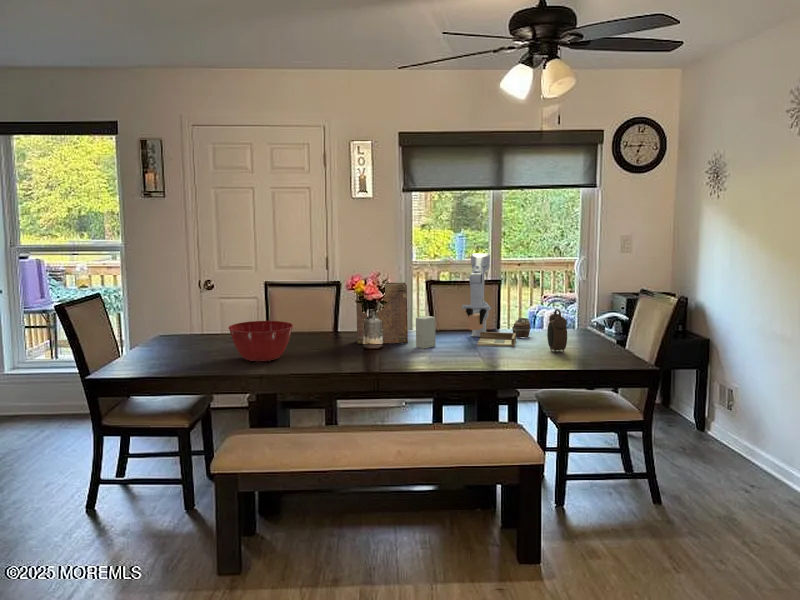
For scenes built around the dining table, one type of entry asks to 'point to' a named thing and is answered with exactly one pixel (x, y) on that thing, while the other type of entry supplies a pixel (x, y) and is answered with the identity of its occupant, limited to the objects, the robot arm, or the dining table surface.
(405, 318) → the brown upright rectangular box
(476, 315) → the block
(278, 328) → the mixing bowl
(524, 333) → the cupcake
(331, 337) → the dining table surface
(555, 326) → the brown backpack
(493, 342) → the wooden tray
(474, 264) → the robot arm
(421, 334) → the skincare box
